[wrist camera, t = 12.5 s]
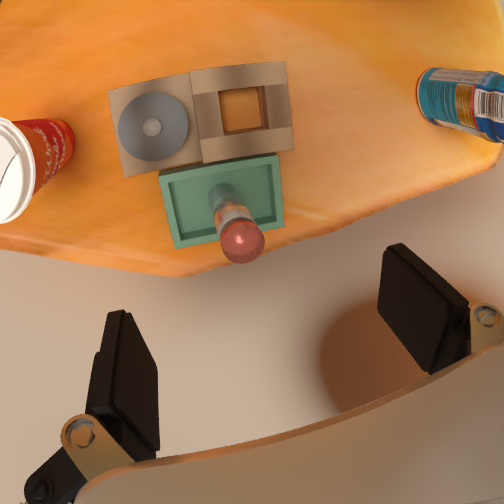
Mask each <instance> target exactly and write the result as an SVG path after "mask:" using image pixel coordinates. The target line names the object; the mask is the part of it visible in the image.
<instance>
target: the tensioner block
mask: <svg viewBox="0 0 504 504" xmlns="http://www.w3.org/2000/svg"><path fill="white" fill-rule="evenodd" d="M247 87H257V91H258V99H259V108H260V117H261V125H262V127H256V128H248V129H241V130H234V131H228V132H223V125H222V118H221V110H220V103H219V96H218V91H223V90H231V89H239V88H247ZM108 97H109V103H110V109H111V115H112V120H113V126H114V131H115V136H116V141H117V146H118V150H119V155H120V160H121V164H122V169H123V173H124V177H129V176H133V175H137V174H141V173H145V172H150V171H154V170H159V169H163V168H168V167H172V166H177V165H182V164H187V163H192V162H197V161H203V163H209V162H214V161H220V160H225V159H231V158H237V157H243V156H250V155H256V154H263V153H270V152H277V151H285V150H292V149H294V145H293V133H292V122H291V111H290V101H289V91H288V82H287V73H286V64H285V61H284V62H266V63H253V64H242V65H232V66H224V67H216V68H209V69H202V70H195V71H190V72H189V73H185V74H180V75H174V76H169V77H164V78H159V79H154V80H150V81H145V82H141V83H137V84H133V85H129V86H125V87H121V88H117V89H114V90H110V91H108Z"/></svg>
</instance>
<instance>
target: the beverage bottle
mask: <svg viewBox="0 0 504 504" xmlns="http://www.w3.org/2000/svg"><path fill="white" fill-rule="evenodd" d="M417 100H418V104H419V107H420V110H421V112H422V114H423V115H424V117H425V118H426V119H427V120H428V121H429V122H431V123H432V124H435V125H438V126H443V127H447V128H451V129H455V130H459V131H462V132H466V133H469V134H472V135H476V136H479V137H482V138H483V139H485V140H487V141H490V142H494V143H500V142H502V143H503V144H504V75H503V76H502V75H501V74H499V73H497V72H493V71H484V72H482V71H470V70H455V69H442V68H432V69H429V70H427V71H426V72H425V73H424V74H423V75H422V76H421V78H420V80H419V83H418V87H417Z"/></svg>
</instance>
